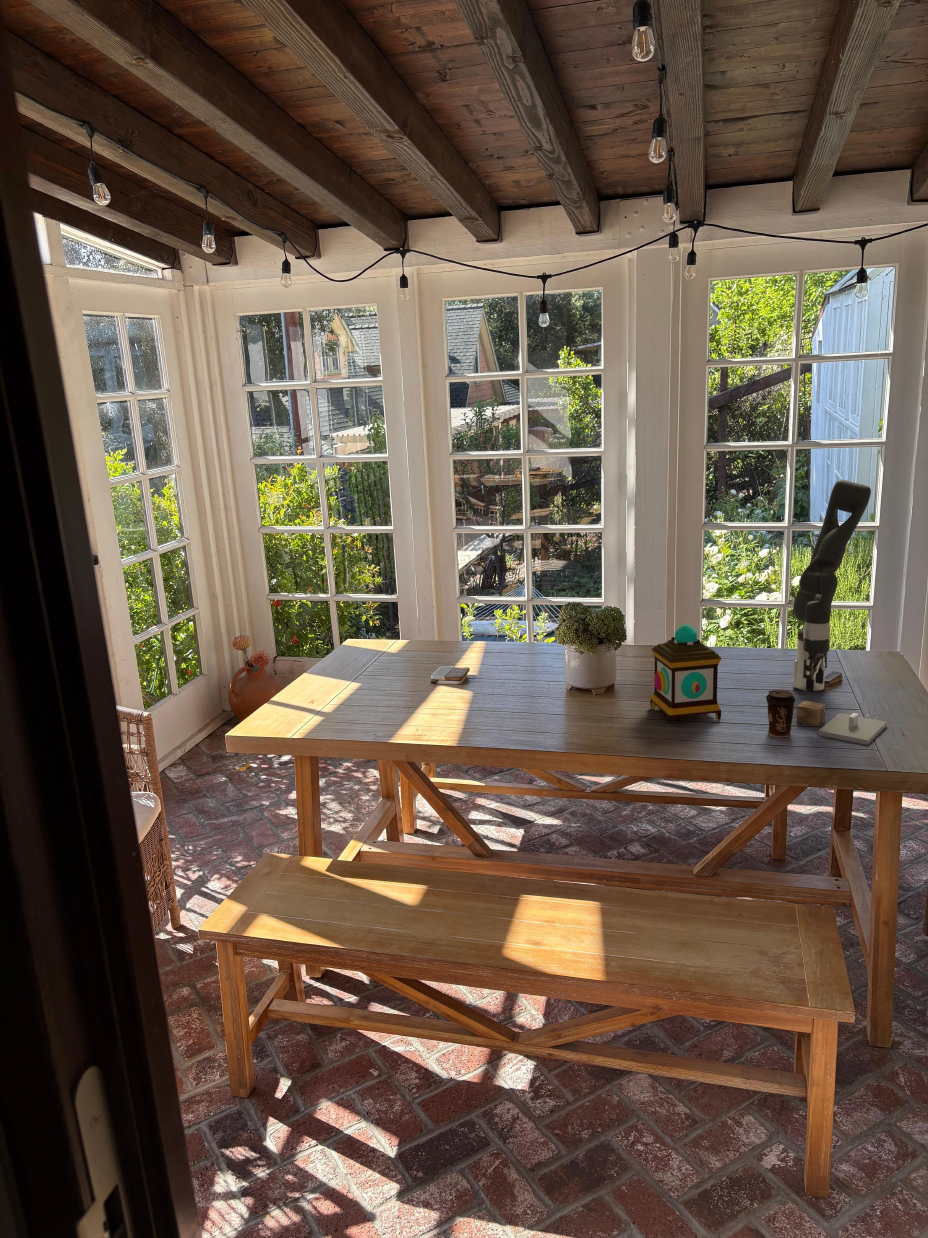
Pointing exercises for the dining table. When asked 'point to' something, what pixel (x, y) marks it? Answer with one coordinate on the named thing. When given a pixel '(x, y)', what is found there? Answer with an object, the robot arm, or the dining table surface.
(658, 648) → the decorative lantern
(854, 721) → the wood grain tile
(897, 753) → the dining table surface
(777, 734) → the coffee cup
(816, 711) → the cardboard box
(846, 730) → the base plate
